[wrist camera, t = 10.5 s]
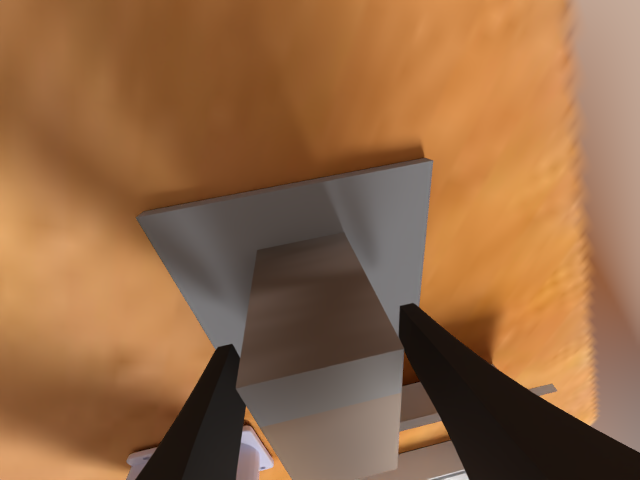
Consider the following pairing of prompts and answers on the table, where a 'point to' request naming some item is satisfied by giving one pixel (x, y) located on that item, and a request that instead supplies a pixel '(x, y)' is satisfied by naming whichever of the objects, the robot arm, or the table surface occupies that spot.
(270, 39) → the table surface
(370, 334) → the block
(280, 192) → the mat
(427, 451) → the grey shallow open piece
